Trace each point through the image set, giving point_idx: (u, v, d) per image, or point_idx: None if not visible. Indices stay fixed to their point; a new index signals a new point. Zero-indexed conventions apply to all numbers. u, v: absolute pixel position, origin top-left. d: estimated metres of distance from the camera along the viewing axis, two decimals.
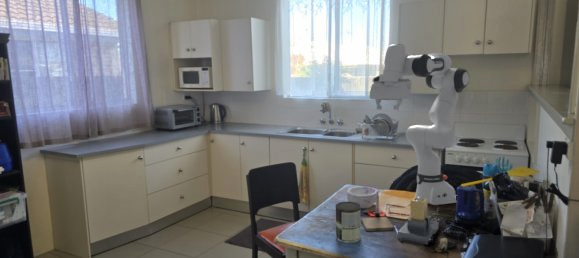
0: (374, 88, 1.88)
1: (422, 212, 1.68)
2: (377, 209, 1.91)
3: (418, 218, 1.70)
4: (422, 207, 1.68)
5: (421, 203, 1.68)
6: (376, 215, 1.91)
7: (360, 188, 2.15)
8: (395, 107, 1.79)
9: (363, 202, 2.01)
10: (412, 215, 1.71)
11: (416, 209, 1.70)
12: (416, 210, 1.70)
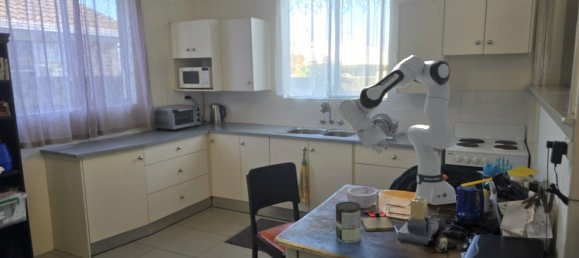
0: None
1: (422, 212, 1.68)
2: (377, 209, 1.91)
3: (418, 218, 1.70)
4: (422, 207, 1.68)
5: (421, 203, 1.68)
6: (376, 215, 1.91)
7: (360, 188, 2.15)
8: None
9: (363, 202, 2.01)
10: (412, 215, 1.71)
11: (416, 209, 1.70)
12: (416, 210, 1.70)
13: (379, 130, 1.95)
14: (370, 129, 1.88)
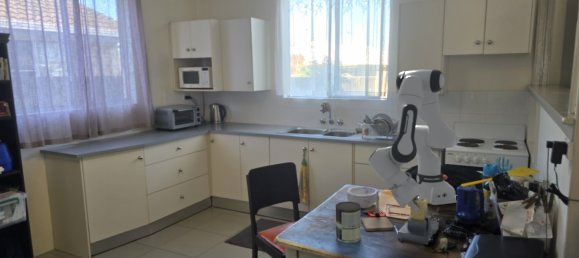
0: None
1: (422, 212, 1.68)
2: (377, 209, 1.91)
3: (418, 218, 1.70)
4: (422, 207, 1.68)
5: (421, 203, 1.68)
6: (376, 215, 1.91)
7: (360, 188, 2.15)
8: None
9: (363, 202, 2.01)
10: (412, 215, 1.71)
11: None
12: None
13: (413, 182, 1.79)
14: (404, 184, 1.72)
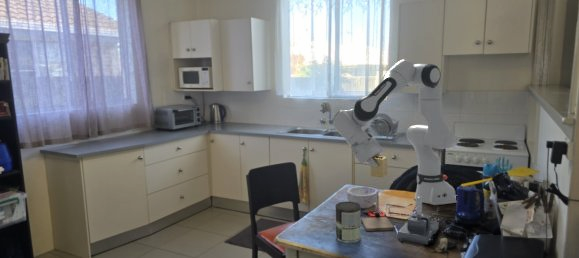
0: None
1: (381, 169, 1.76)
2: (377, 209, 1.91)
3: (378, 175, 1.77)
4: (381, 164, 1.75)
5: (380, 160, 1.75)
6: (376, 215, 1.91)
7: (360, 188, 2.15)
8: None
9: (363, 202, 2.01)
10: (372, 172, 1.78)
11: None
12: None
13: (375, 143, 1.86)
14: (365, 142, 1.79)
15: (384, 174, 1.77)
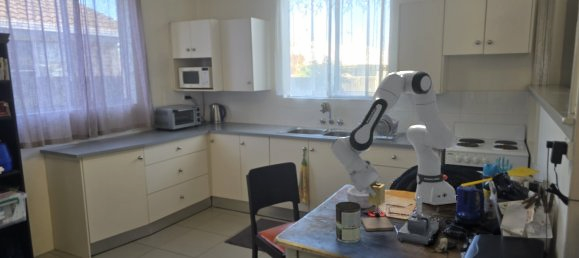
0: None
1: (379, 197, 1.78)
2: (377, 209, 1.91)
3: (375, 203, 1.79)
4: (379, 192, 1.78)
5: (378, 188, 1.78)
6: (376, 215, 1.91)
7: None
8: None
9: (363, 202, 2.01)
10: (370, 200, 1.81)
11: None
12: None
13: (373, 170, 1.89)
14: (363, 170, 1.81)
15: (382, 202, 1.80)
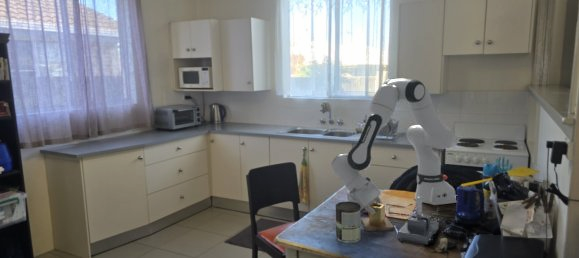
0: None
1: (379, 217, 1.80)
2: None
3: (376, 223, 1.81)
4: (379, 212, 1.79)
5: (378, 209, 1.79)
6: None
7: None
8: None
9: None
10: (370, 220, 1.82)
11: (374, 214, 1.81)
12: (374, 215, 1.81)
13: (373, 186, 1.90)
14: (363, 188, 1.83)
15: (382, 222, 1.82)
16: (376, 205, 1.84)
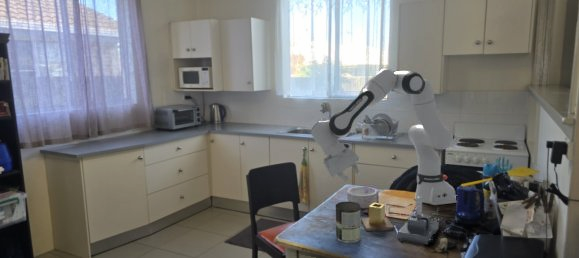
0: None
1: (379, 217, 1.80)
2: None
3: (376, 223, 1.81)
4: (379, 212, 1.79)
5: (378, 209, 1.79)
6: None
7: (360, 188, 2.15)
8: None
9: (363, 202, 2.01)
10: (370, 220, 1.82)
11: (374, 214, 1.81)
12: (374, 215, 1.81)
13: (351, 152, 1.96)
14: (339, 155, 1.89)
15: (382, 222, 1.82)
16: (376, 205, 1.84)
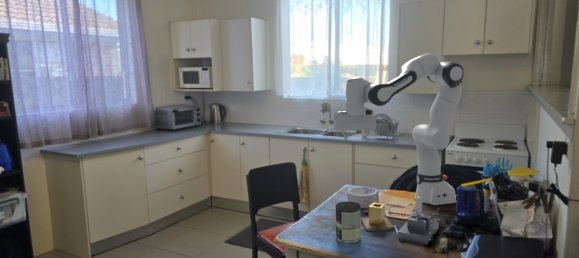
0: None
1: (379, 217, 1.80)
2: None
3: (376, 223, 1.81)
4: (379, 212, 1.79)
5: (378, 209, 1.79)
6: None
7: (360, 188, 2.15)
8: None
9: (363, 202, 2.01)
10: (370, 220, 1.82)
11: (374, 214, 1.81)
12: (374, 215, 1.81)
13: (371, 119, 1.98)
14: (352, 117, 1.97)
15: (382, 222, 1.82)
16: (376, 205, 1.84)
